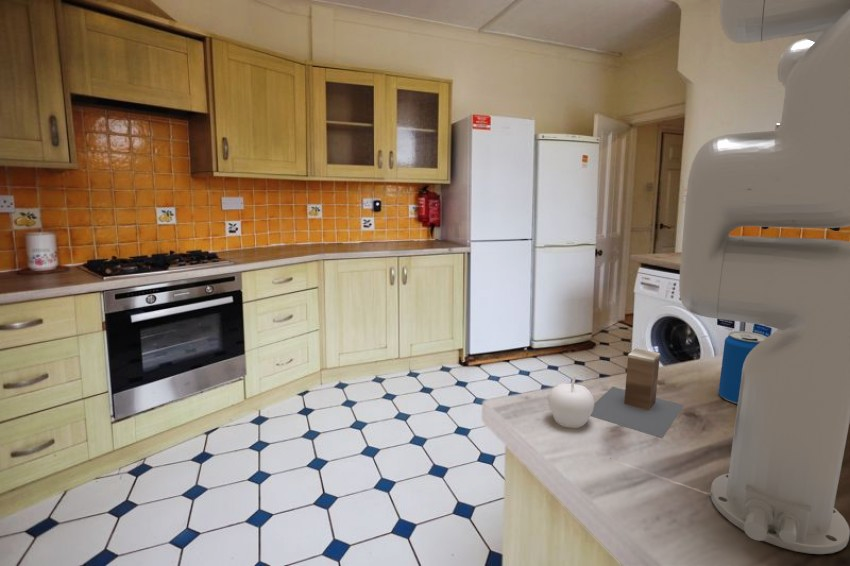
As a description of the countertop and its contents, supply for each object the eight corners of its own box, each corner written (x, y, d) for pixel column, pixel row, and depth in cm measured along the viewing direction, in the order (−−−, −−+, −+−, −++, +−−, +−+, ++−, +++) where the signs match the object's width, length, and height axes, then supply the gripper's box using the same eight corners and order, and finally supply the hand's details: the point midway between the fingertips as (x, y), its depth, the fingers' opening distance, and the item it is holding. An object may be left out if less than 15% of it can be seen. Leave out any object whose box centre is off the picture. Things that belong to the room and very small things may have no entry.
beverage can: (724, 406, 79) (732, 339, 76) (713, 391, 85) (720, 329, 82) (768, 411, 77) (778, 343, 74) (753, 395, 83) (762, 331, 81)
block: (648, 410, 77) (653, 359, 75) (624, 403, 79) (628, 354, 77) (655, 402, 80) (660, 353, 78) (631, 396, 82) (635, 348, 80)
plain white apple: (602, 427, 72) (606, 380, 71) (569, 438, 69) (572, 389, 67) (570, 409, 78) (572, 365, 77) (538, 419, 75) (540, 373, 73)
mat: (662, 440, 68) (662, 438, 68) (583, 415, 76) (583, 413, 76) (683, 407, 79) (683, 404, 78) (612, 388, 86) (612, 386, 86)
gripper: (753, 129, 78) (740, 229, 81) (891, 120, 69) (871, 233, 73) (748, 133, 84) (737, 226, 88) (875, 126, 76) (857, 229, 79)
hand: (798, 229), depth 80 cm, fingers open, 9 cm apart
